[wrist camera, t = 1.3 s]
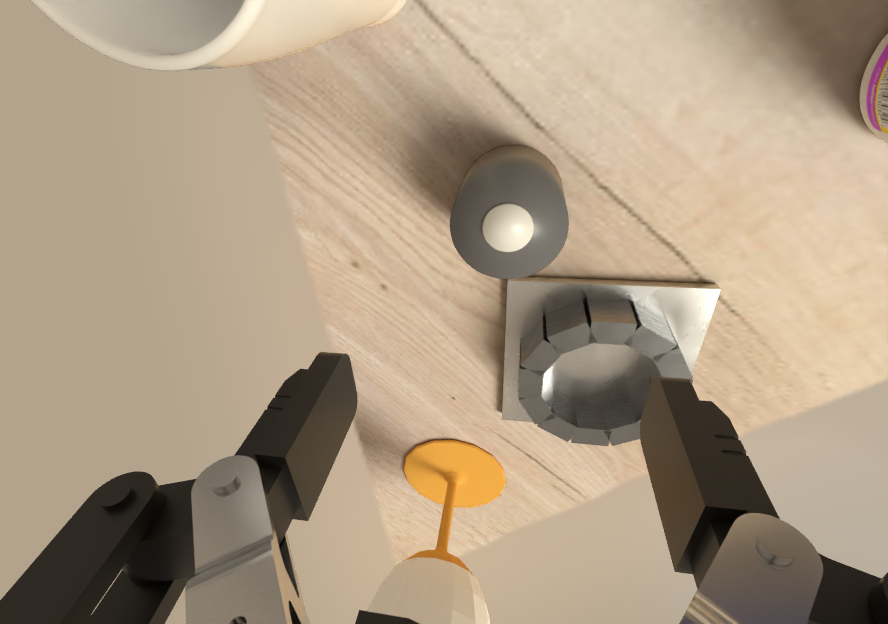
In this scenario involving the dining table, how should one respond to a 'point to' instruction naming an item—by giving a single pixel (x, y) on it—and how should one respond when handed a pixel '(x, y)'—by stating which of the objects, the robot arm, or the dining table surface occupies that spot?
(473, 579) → the cup
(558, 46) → the dining table surface
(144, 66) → the drinking glass
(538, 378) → the segmented ring on plate
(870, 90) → the supplement bottle
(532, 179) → the cap
